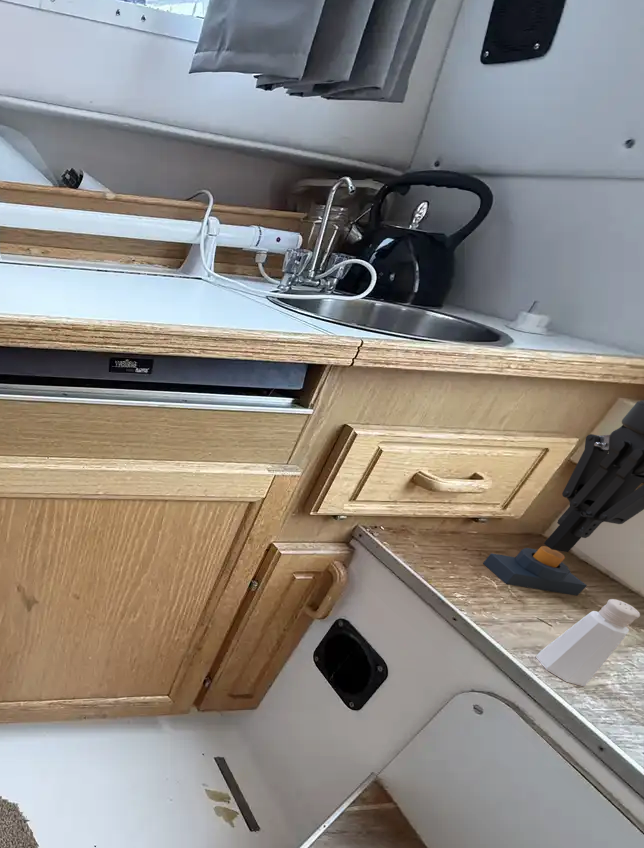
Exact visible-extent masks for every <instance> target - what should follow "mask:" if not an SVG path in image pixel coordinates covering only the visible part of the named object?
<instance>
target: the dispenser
mask: <svg viewBox="0 0 644 848" xmlns="http://www.w3.org/2000/svg"><path fill="white" fill-rule="evenodd" d="M537 551H538V549H535V548H530V547H524V548H523V549H521V550H520V551H519V552H518V554H516V556H510V555H505V554H497V553H492V552H491V553H489V555H488V556H487V557H486V559H485V560H484V561H483V563H482V564H483V565H484V566H485V567H486V568H487V569H488V570H489V571H491V572H492V573H493V574H494V575H495V576H496V577H497V578H499V579H500V580H501V581H502V582H503V583H504V584H505V585H510V586H515V587H521V588H522V587H523V588H529V589H533V590H534V589H535V590H539V591H545V592H546V591H547V592H552V593H559V594H564V595H570V596H579V595H580V594H581V593H582V591H583V590H585V589H586V587H587V586H588V585H587V584H586V583H585V582H583V581H582V580H580V579H579V578H578V577H577V576H576V575H574V574H573V573H571V570H570V568H569V567H568V566H567V564H565V563H564V562H563V561H562V562H561V563H560V564H559V565H558V566H557V567H556V568H554V567H550V566H548V565H545V564H543V563H541V562H540V561H538V560H536V559H535V558H534V557H533V555H534V554H535V553H536V552H537Z"/></svg>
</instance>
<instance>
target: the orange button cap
mask: <svg viewBox="0 0 644 848" xmlns="http://www.w3.org/2000/svg"><path fill="white" fill-rule="evenodd" d="M537 550H538V551H537V552H536V553H535V554H534V555H533V557H534V558H535V559H536V560H538V561H540V562H541V563H543V564H545V565H548V566H550V567H554V568H556V567H557V566H558V565H559V564H560V563H561V562H562V563H563V561H564V560H565V558H566V556H565V555H564V553H562V552H561V551H558V550H552V549H550V548H549V547H548V546H546V545H542V546H540V547H539V548H538V549H537Z"/></svg>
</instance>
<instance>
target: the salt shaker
mask: <svg viewBox="0 0 644 848" xmlns="http://www.w3.org/2000/svg"><path fill="white" fill-rule="evenodd" d="M640 617H641V612H639V610H637V608H635V607H634V606H632V605H631V604H630V603H627V602H625V601H622V600H620V599H616V598H610V599H608V600H607V602H606V604H604V605H603V606H602V607H601V609H600V610H599V611H596V610H592V611H590V612H589V613H587V614H586V615H585V616H583V617H582V618H581V619H579V620H578V621H577V622H576V623H574V624H573V625H571V626H570V627H569V628H568V629H566V630H565V631H563V633H562V634H560V635H559V636H557V637H556V638H555V639H553V641H551V642H550V643H548V644H547V645H546V646H545V647H544V648H542V649H541V650H540V651H538V653H537V654H536V656H535V657H536V659H537V660H538V662H539V663H540V664H541V665H542V666H543V668H544V669H545V670H546V671H548V672H549V673H551V674H552V675H554V676H556V677H558V678H559V679H561V680H563V681H564V682H566V683H569V684H573V685H577V686H581V687H586V685H587V684H589V682H590V681H591V679H593V677H594V676H595V674H596V673H597V672H598V671H599V670H600V669H601V667H602V666H603V665H604V663H605V662H606V661H607V660H608V658H610V657H611V655H612V654H613V652H615V650H616V649H617V648H618V646H619V645H620V644H621V643H622V641H623V640H624V639H625V638H626V636H627V635H628V633H629V632H630V629H629V628H628V627H629V625H631V624H632V623H633V622H635V620H637V619H639V618H640Z"/></svg>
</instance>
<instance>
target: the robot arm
mask: <svg viewBox="0 0 644 848" xmlns="http://www.w3.org/2000/svg"><path fill="white" fill-rule="evenodd" d="M641 484H642V485H641ZM561 495H562V497H564V498H566V499H567V500H568V502H569V506H568V508H566V510H565V511H564V512H563V514H561V516H560V517H559V518H558V519H557V522H556V524H558V526H557V528H556V529H555V530H554V531H553V532H551V534H550V536H548V538H547V539H545V541H544V542H543V544H544V546H546V547H549V548H550V549H552V550H557V551H558V552H564V553H569V552H570V551H571V550H572V549H573V548H574V547H575V545H576V544H577V543H578V542H579V541H580V540H581V539H582V538H583V539H587V538H589V537H590V536H591V535H592V534H593V533H594V531H596V530H597V529H598V527H600V525H601V524H602V523H609V524H616V525H623V524H625V523H626V522H628V521H629V520H630V519H632V518H633V517H635V516H636V515H638V514H639V513H641V512H643V510H644V399H641V400H640V401H639V400H638V401H636V403H635V404H634V405H633V406H632V407H631V409H630V410H629V411H628V412H627V413H626V415H624V417H623V418H622V420H621V426H620V427H618V428H616V429H613V431H612V432H610V434H602V435H598V434H593V433H590V434H588V435H586V437H585V441H584V449H583V451H582V454H581V455H580V457H579V460H578V462H577V463H576V466H575V468H574V469H573V471H572V473H571V475H570V477H569V479H568V481H567V483H566V485H565V487H564V488H563V491H562V494H561Z"/></svg>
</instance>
